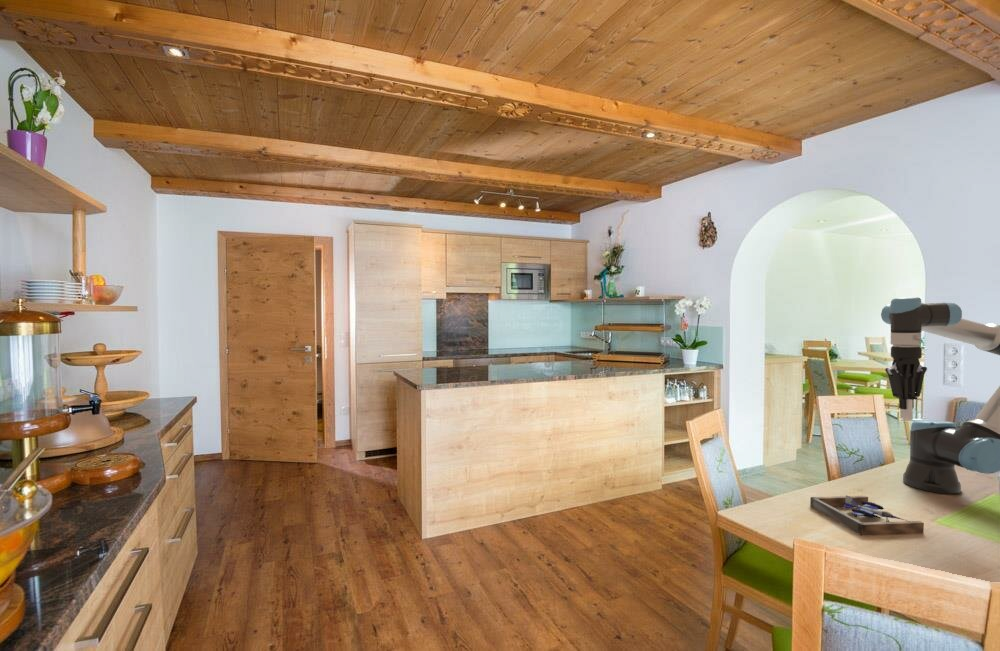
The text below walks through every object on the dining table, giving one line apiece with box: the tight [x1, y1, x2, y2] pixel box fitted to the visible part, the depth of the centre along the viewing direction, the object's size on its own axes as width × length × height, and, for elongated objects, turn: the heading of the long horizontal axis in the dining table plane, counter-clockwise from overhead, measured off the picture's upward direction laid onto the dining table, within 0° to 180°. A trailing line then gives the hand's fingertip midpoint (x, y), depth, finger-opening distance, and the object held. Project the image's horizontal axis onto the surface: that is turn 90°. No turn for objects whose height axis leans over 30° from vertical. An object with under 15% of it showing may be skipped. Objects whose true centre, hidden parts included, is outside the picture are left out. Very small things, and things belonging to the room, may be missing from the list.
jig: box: [809, 495, 925, 537], centre depth 141 cm, size 18×19×3 cm
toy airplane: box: [842, 495, 908, 522], centre depth 141 cm, size 13×14×4 cm
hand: (906, 419), depth 153 cm, fingers closed
